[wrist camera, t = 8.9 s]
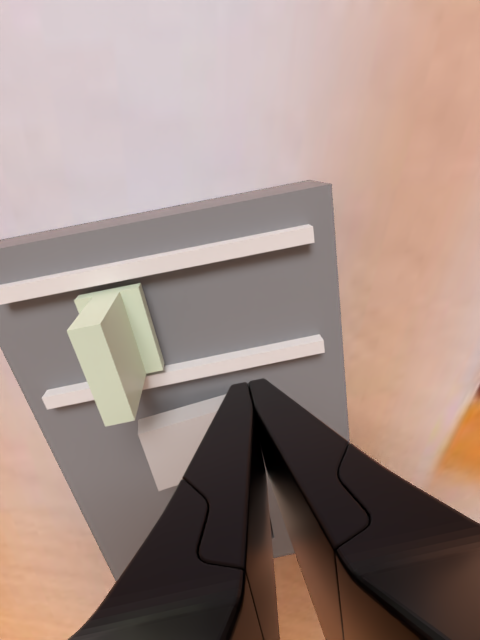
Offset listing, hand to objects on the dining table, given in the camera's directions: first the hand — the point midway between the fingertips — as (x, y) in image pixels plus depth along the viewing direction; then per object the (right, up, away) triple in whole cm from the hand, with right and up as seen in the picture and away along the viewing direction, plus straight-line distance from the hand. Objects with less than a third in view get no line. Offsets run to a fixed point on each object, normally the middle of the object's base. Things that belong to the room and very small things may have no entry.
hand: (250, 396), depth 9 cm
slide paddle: (-5, +1, +6) cm, 8 cm away
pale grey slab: (-2, -3, +8) cm, 9 cm away
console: (-2, -2, +11) cm, 12 cm away
